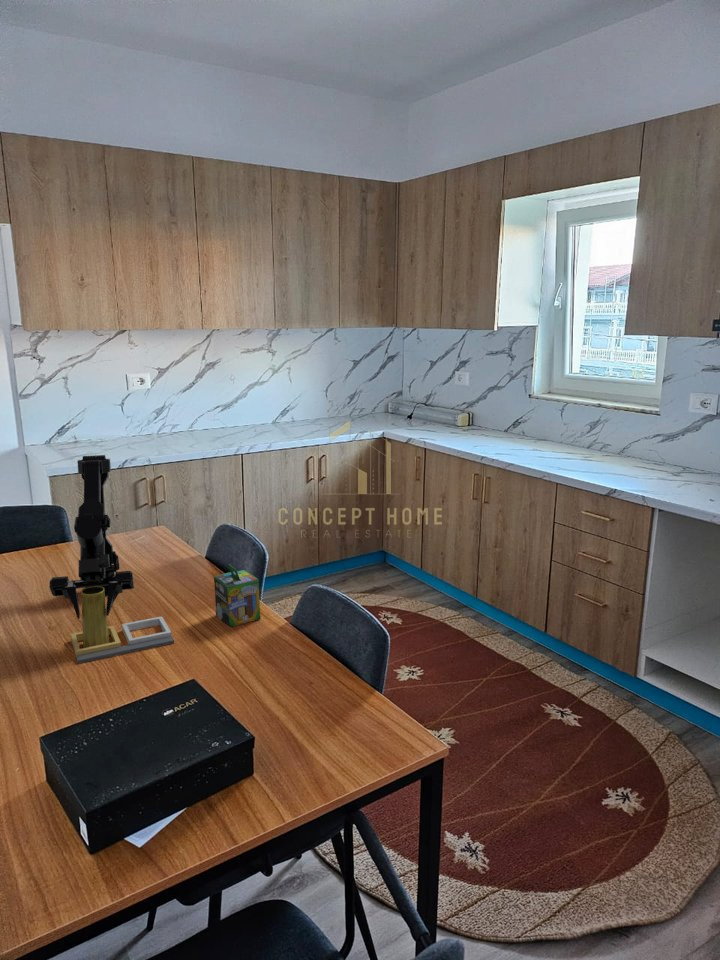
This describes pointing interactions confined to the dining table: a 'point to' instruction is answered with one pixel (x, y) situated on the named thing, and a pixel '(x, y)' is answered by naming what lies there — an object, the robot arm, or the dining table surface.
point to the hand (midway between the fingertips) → (93, 616)
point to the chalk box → (237, 597)
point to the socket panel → (134, 643)
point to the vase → (94, 616)
